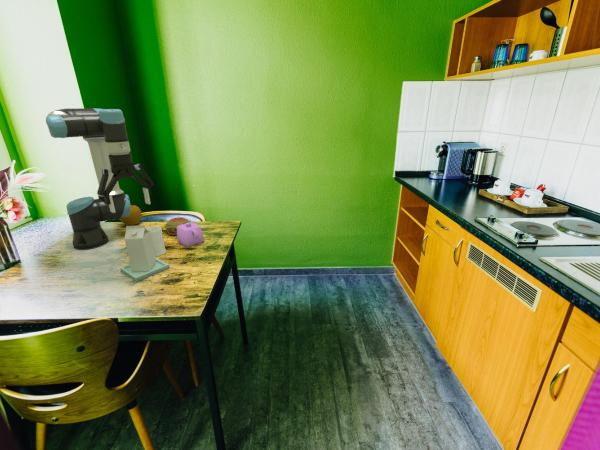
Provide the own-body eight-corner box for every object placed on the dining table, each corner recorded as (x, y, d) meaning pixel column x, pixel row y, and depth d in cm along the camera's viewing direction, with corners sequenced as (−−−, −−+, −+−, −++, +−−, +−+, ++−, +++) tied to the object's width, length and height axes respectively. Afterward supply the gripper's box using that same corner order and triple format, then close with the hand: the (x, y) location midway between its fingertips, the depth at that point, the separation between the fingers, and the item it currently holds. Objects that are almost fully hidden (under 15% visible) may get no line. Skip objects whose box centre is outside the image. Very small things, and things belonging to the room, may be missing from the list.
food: (168, 239, 160) (166, 224, 157) (163, 230, 171) (161, 217, 169) (195, 233, 167) (193, 219, 164) (189, 226, 178) (187, 213, 175)
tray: (120, 271, 128) (119, 267, 127) (153, 259, 138) (152, 255, 137) (136, 282, 119) (135, 278, 119) (169, 268, 130) (168, 264, 129)
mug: (140, 260, 137) (135, 235, 133) (137, 253, 144) (132, 230, 139) (168, 253, 144) (163, 229, 139) (163, 247, 150) (159, 224, 146)
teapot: (173, 239, 159) (170, 221, 156) (192, 234, 166) (189, 216, 162) (188, 250, 147) (185, 230, 143) (208, 243, 154) (206, 224, 150)
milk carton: (139, 264, 132) (129, 223, 125) (156, 263, 132) (147, 222, 126) (132, 272, 125) (121, 229, 118) (149, 271, 126) (140, 228, 119)
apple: (126, 229, 174) (122, 210, 170) (115, 225, 180) (110, 207, 176) (148, 222, 184) (144, 204, 180) (136, 219, 190) (132, 201, 186)
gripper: (85, 158, 102) (100, 218, 109) (157, 150, 120) (165, 202, 128) (77, 156, 106) (92, 213, 114) (147, 149, 124) (156, 199, 132)
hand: (131, 207), depth 121 cm, fingers open, 13 cm apart
